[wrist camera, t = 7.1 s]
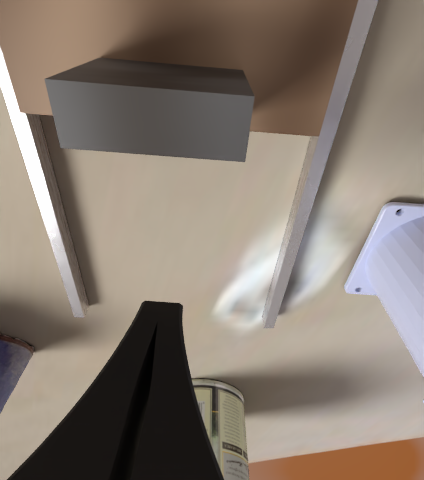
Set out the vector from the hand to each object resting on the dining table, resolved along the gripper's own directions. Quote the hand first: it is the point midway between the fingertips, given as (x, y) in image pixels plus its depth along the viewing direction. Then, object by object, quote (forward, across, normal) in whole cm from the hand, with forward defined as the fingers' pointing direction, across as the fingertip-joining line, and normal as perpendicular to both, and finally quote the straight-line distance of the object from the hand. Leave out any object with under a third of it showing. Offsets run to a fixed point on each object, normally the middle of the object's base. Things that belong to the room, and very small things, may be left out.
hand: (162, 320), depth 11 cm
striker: (+10, +1, -9) cm, 13 cm away
